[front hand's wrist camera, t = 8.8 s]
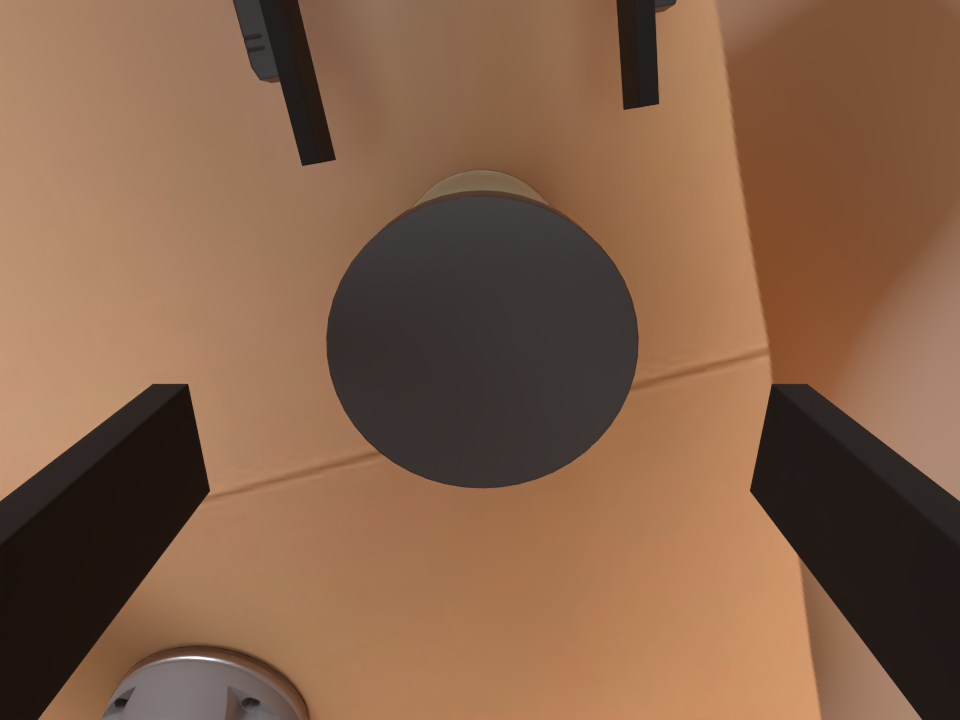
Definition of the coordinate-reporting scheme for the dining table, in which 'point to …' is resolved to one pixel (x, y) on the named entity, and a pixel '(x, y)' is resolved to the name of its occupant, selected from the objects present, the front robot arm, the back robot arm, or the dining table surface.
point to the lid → (482, 340)
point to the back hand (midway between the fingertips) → (477, 136)
